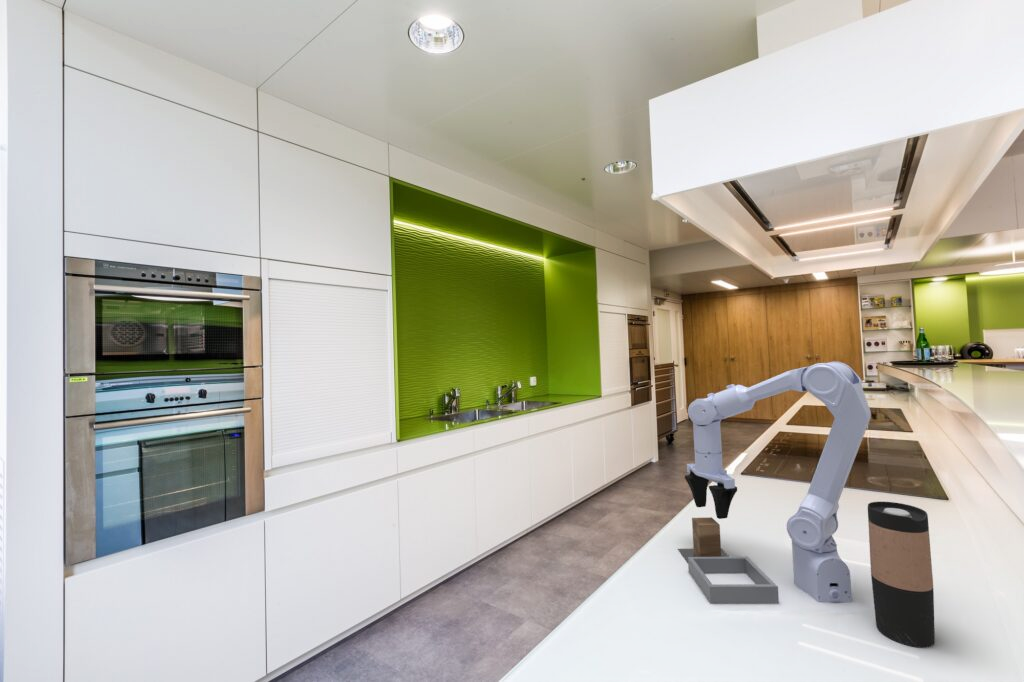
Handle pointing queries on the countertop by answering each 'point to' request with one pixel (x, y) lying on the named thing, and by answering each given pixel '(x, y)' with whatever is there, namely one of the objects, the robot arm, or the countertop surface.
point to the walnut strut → (706, 537)
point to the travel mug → (902, 573)
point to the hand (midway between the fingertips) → (711, 512)
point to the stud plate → (690, 553)
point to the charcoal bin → (733, 593)
